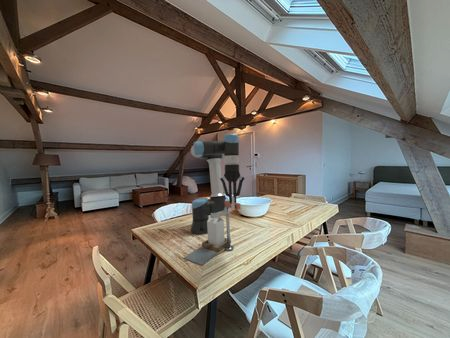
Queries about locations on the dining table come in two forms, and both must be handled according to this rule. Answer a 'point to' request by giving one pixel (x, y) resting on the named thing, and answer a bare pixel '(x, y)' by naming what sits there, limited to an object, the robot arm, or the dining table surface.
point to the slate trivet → (200, 256)
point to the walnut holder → (215, 248)
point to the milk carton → (215, 231)
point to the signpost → (227, 213)
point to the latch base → (229, 248)
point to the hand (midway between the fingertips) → (232, 209)
